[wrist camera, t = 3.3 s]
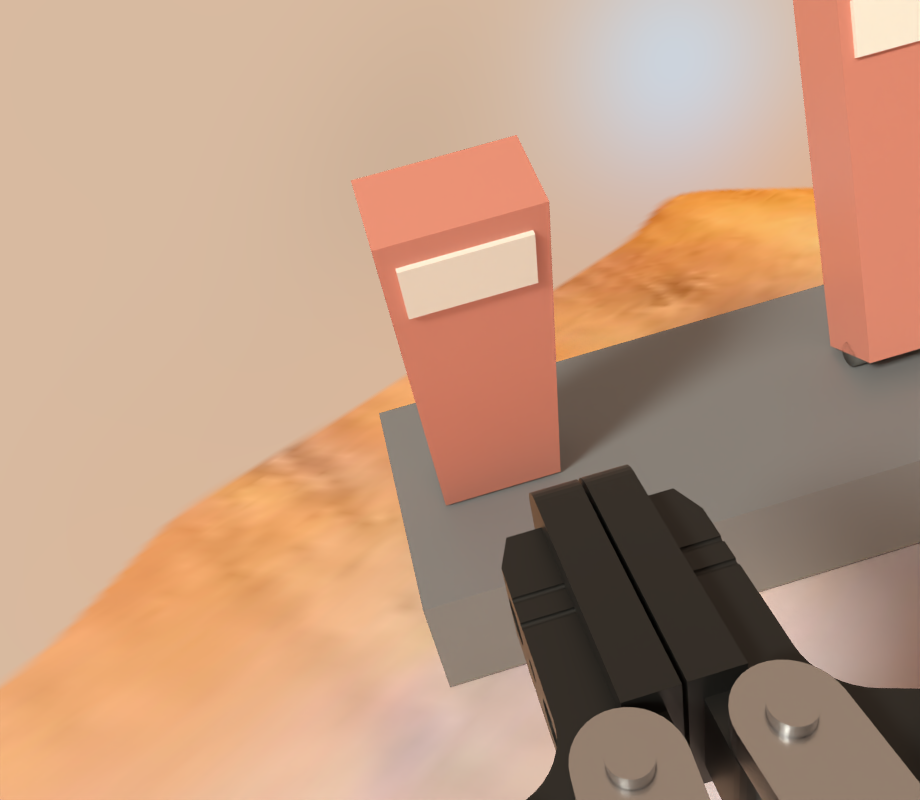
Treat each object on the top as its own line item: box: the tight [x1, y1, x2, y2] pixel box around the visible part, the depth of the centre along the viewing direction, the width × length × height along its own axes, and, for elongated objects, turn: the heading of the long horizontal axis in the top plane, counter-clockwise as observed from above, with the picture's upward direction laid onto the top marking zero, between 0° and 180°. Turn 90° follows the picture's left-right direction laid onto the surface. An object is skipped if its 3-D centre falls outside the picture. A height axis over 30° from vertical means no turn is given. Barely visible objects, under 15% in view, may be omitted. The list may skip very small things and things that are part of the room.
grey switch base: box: [379, 285, 920, 687], centre depth 31 cm, size 22×10×4 cm, turn 102°
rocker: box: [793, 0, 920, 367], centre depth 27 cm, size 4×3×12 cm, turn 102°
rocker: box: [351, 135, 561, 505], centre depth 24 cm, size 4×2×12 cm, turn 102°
